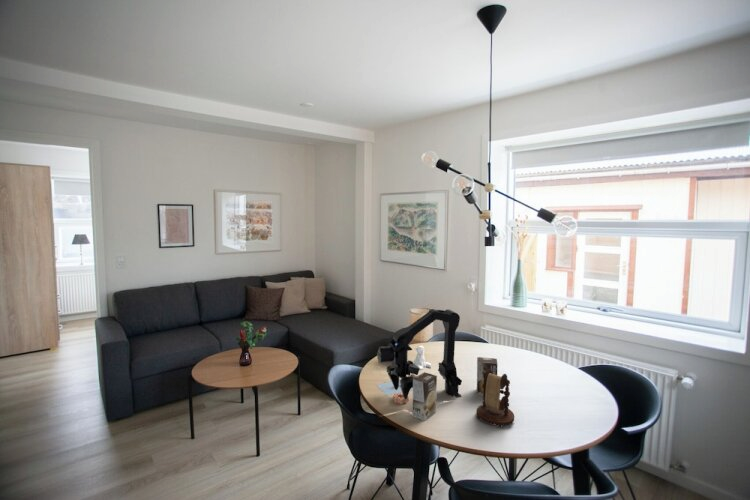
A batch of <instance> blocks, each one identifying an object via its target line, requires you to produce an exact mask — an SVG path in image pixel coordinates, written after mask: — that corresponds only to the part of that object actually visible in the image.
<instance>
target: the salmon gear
mask: <svg viewBox="0 0 750 500" xmlns="http://www.w3.org/2000/svg"><path fill="white" fill-rule="evenodd" d="M392 401H393V402H394V403H395V404H400V405H403V404H408V401H409V395H408V397H407V399H404V397H403V394H402V393H401V392H399V393H395V394H393V395H392Z"/></svg>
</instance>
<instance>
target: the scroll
mask: <svg viewBox="0 0 750 500" xmlns="http://www.w3.org/2000/svg"><path fill="white" fill-rule="evenodd" d="M483 376H484V377H483V378H484V381H483V382H484V383H483V385H482V387H483V389H484V391H483V393H484V394H483V396H482V404H480V405H479V406H477V407H476V416H477V419H478V420H480V421H482V422H484V423H487V424H489V425H493V426H498V427H499V429H502V428H503V426H508V425H510V424H513V422H514V421H515V414H514V412H513V411H512V410H511V409H510V403H509V401H510V400H509V397H510V395H511V392H510V384H511V382H510V380H509V379H508V375H507V374H506V373H503V374H502V376H499V375H498V374H497V375H494V374H492V370H491V369H488V370H487V371H486V372H485V373H483ZM504 389H505V390H504ZM501 394H503V396H502V397H501ZM500 398H501V399H500Z"/></svg>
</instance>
